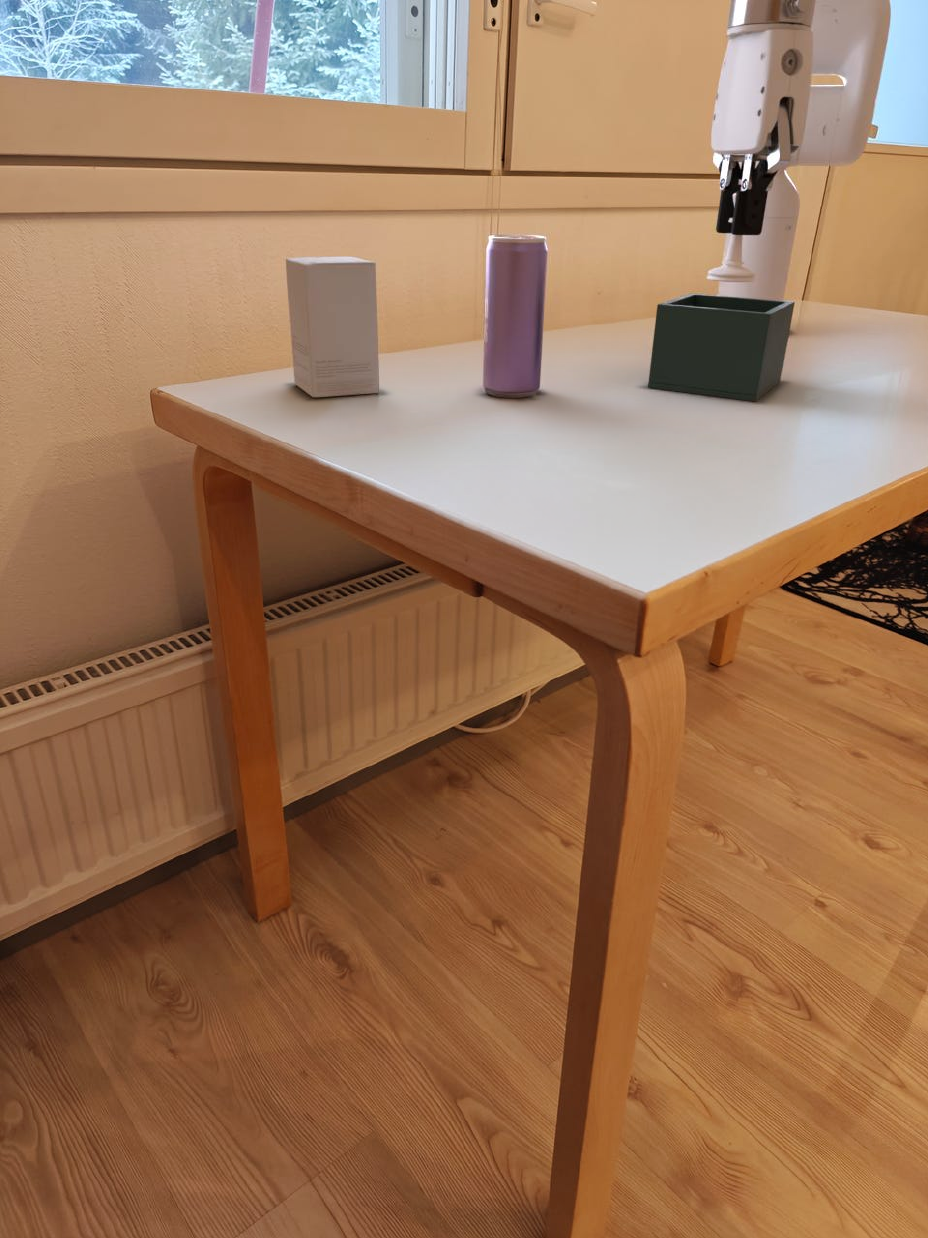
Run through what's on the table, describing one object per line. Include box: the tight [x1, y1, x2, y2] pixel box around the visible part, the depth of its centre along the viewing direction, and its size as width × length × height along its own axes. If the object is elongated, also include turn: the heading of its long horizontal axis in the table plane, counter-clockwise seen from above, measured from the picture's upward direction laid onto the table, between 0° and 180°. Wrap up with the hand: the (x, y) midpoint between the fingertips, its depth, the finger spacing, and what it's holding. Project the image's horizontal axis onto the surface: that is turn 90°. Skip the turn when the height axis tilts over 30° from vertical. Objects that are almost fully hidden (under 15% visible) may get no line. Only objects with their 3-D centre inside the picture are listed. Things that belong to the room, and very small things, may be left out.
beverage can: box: [482, 234, 549, 399], centre depth 87 cm, size 6×6×15 cm
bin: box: [647, 293, 796, 403], centre depth 94 cm, size 12×12×9 cm
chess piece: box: [706, 180, 755, 282], centre depth 88 cm, size 5×5×10 cm
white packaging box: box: [285, 256, 380, 398], centre depth 87 cm, size 7×7×13 cm
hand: (738, 232), depth 89 cm, fingers closed on chess piece
